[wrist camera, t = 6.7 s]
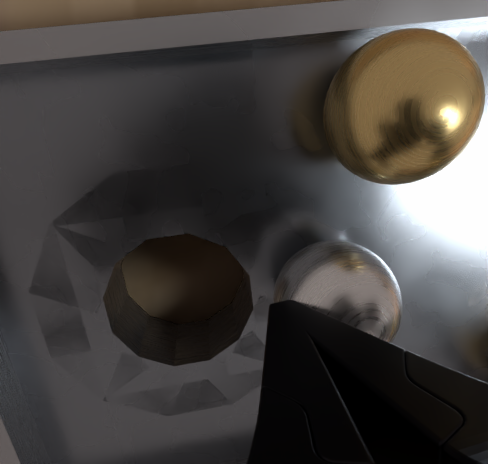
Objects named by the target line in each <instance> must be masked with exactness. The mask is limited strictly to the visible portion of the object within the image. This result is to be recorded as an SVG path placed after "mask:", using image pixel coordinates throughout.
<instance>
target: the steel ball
mask: <svg viewBox="0 0 488 464" xmlns="http://www.w3.org/2000/svg"><path fill="white" fill-rule="evenodd" d="M285 300H294V301H296V302H299V303H301V304H303V305H305V306H308V307H310V308H312V309H314V310H317V311H319V312H321V313H324V314H326V315H328V316H330V317H333V318H335V319H337V320H339V321H342V322H344V323H346V324H348V325H351V326H353V327H355V328H357V329H360V330H362V331H364V332H366V333H369V334H371V335H373V336H376V337H378V338H380V339H382V340H385V341H387V342H389V343H392V342H393V340H394V338H395V337H396V335H397V332H398V330H399V327H400V324H401V319H402V313H403V305H402V296H401V291H400V288H399V285H398V282H397V280H396V278H395V276H394V275H393V273H392V271H391V270H390V268H389V267H388V266H387V265H386V264H385V262H384V261H383V260H382V259H380V258H379V257H378V256H377V255H376V254H374V253H373V252H371V251H370V250H368V249H366V248H364V247H362V246H360V245H358V244H355V243H351V242H346V241H339V240H330V241H322V242H318V243H314V244H312V245H309V246H307V247H305V248H303V249H302V250H300V251H299V252H297V253H296V254H294V255H293V256H292V257H291V258H290V259H289V260H288V261H287V263H286V264H285V265H284V267H283V268H282V270H281V272H280V274H279V276H278V278H277V280H276V283H275V287H274V293H273V303H276V302H281V301H285Z"/></svg>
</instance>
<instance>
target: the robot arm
mask: <svg viewBox="0 0 488 464" xmlns="http://www.w3.org/2000/svg"><path fill="white" fill-rule="evenodd" d="M246 464H488V383H487V382H484V381H481V380H479V379H476V378H473V377H471V376H468V375H465V374H463V373H460V372H458V371H455V370H452V369H450V368H447V367H445V366H442V365H440V364H438V363H435V362H433V361H430V360H428V359H426V358H423V357H421V356H419V355H417V354H414V353H412V352H410V351H405V350H404V349H403V348H400V347H398V346H396V345H394V344H391V343H389V342H387V341H385V340H382V339H380V338H378V337H376V336H373V335H371V334H369V333H366V332H364V331H362V330H360V329H357V328H355V327H353V326H351V325H348V324H346V323H344V322H342V321H339V320H337V319H335V318H333V317H330V316H328V315H326V314H324V313H321V312H319V311H317V310H314V309H312V308H310V307H308V306H305V305H303V304H301V303H299V302H296V301H294V300H285V301H281V302H276V303H272V304H270V305H269V311H268V322H267V332H266V342H265V352H264V363H263V373H262V383H261V391H260V401H259V408H258V415H257V422H256V427H255V431H254V435H253V440H252V444H251V448H250V452H249V455H248V459H247V463H246Z"/></svg>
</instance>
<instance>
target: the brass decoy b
mask: <svg viewBox="0 0 488 464" xmlns="http://www.w3.org/2000/svg"><path fill="white" fill-rule="evenodd" d="M484 105H485V85H484V80H483V76H482V73H481V70H480V68H479V66H478V64H477V62H476V60H475V59H474V57H473V56H472V55H471V53H470V52H469V51H468V50H467V49H466V47H465V46H464V45H462V44H461V43H460V42H458V41H457V40H455V39H454V38H452V37H450V36H448V35H446V34H444V33H441V32H438V31H435V30H431V29H424V28H406V29H400V30H395V31H392V32H389V33H386V34H383V35H380V36H378V37H376V38H374V39H372V40H370V41H368V42H367V43H365V44H364V45H362V46H361V47H360V48H358V49H357V50H356V51H355V52H354V53H352V54H351V55H350V56H349V57H348V58H347V60H346V61H345V62H344V63H343V64H342V65H341V67H340V68H339V70H338V71H337V72H336V74H335V76H334V78H333V79H332V81H331V83H330V86H329V88H328V91H327V94H326V98H325V102H324V108H323V126H324V132H325V136H326V140H327V142H328V145H329V147H330V149H331V151H332V153H333V154H334V156H335V157H336V159H337V160H338V161H339V162H340V163H341V164H342V165H343V166H344V167H345V168H346V169H347V170H348V171H350V172H351V173H353V174H354V175H356V176H358V177H360V178H362V179H364V180H367V181H370V182H374V183H379V184H385V185H399V184H408V183H412V182H416V181H419V180H422V179H425V178H428V177H430V176H432V175H434V174H436V173H438V172H439V171H441V170H442V169H444V168H446V167H447V166H448V165H450V164H451V163H452V162H453V161H454V160H455V159H456V158H457V157H458V156H459V155H460V154H461V153H462V152H463V151H464V150H465V149H466V147H467V146H468V145H469V144H470V142H471V140H472V139H473V137H474V135H475V134H476V132H477V130H478V127H479V125H480V122H481V119H482V115H483V111H484Z"/></svg>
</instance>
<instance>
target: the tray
mask: <svg viewBox="0 0 488 464" xmlns="http://www.w3.org/2000/svg"><path fill="white" fill-rule="evenodd" d="M406 28H424V29H431V30H435V31H438V32H441V33H444V34H446V35H448V36H450V37H452V38H454V39H455V40H457V41H458V42H460V43H461V44H462V45H464V46H465V47H466V49H467V50H468V51H469V52H470V53H471V55H472V56H473V57H474V59H475V60H476V62H477V64H478V66H479V68H480V70H481V73H482V76H483V80H484V85H485V105H484V111H483V115H482V119H481V122H480V125H479V127H478V130H477V132H476V134H475V135H474V137H473V139H472V140H471V142H470V144H469V145H468V146H467V147H466V149H465V150H464V151H463V152H462V153H461V154H460V155H459V156H458V157H457V158H456V159H455V160H454V161H453V162H452V163H451V164H450V165H448V166H447V167H446V168H444V169H442V170H441V171H439V172H438V173H436V174H434V175H432V176H430V177H428V178H425V179H422V180H419V181H416V182H412V183H408V184H399V185H385V184H379V183H374V182H370V181H367V180H364V179H362V178H360V177H358V176H356V175H354V174H353V173H351V172H350V171H348V170H347V169H346V168H345V167H344V166H343V165H342V164H341V163H340V162H339V161H338V160H337V159H336V157H335V156H334V154H333V153H332V151H331V149H330V147H329V145H328V142H327V140H326V136H325V132H324V126H323V108H324V102H325V98H326V94H327V91H328V88H329V86H330V83H331V81H332V79H333V78H334V76H335V74H336V72H337V71H338V70H339V68H340V67H341V65H342V64H343V63H344V62H345V61H346V60H347V58H348V57H349V56H350V55H351V54H352V53H354V52H355V51H356V50H357V49H358V48H360V47H361V46H362V45H364V44H365V43H367V42H368V41H370V40H372V39H374V38H376V37H378V36H380V35H383V34H386V33H389V32H392V31H395V30H400V29H406ZM187 233H189V234H192V235H194V236H197V237H200V238H203V239H205V240H208V241H211V242H213V243H216V244H219V245H222V246H224V247H227V249H228V250H229V251H230V252H231V254H232V255H233V256H234V257H235V258H236V260H237V261H238V262H239V263H240V264H241V266H242V267H243V273H244V278H243V280H242V282H241V284H240V286H239V288H238V291H237V293H236V295H235V297H234V299H233V301H232V303H231V304H229V305H228V306H226V307H225V308H224V309H222V310H221V311H220V312H218V313H217V314H215V315H214V316H213V317H211V318H210V319H209V320H204V321H197V322H191V323H185V324H179V325H178V324H174V323H171V322H168V321H164V320H161V319H158V318H154V317H151V316H149V315H148V314H147V313H146V312H145V311H144V310H143V309H142V308H141V307H140V306H139V305H138V304H137V303H136V302H135V301H134V300H133V299H132V298H131V297H130V296H129V295H128V294H127V290H126V286H125V281H124V277H123V273H122V269H121V264H122V261H123V258H124V257H125V256H126V255H127V254H129V253H130V252H131V251H132V250H134V249H135V248H136V247H138V246H139V245H140V244H142V243H143V242H144V241H145V240H147V239H153V238H160V237H167V236H174V235H181V234H187ZM330 240H339V241H346V242H351V243H355V244H358V245H360V246H362V247H364V248H366V249H368V250H370V251H371V252H373V253H374V254H376V255H377V256H378V257H379V258H380V259H382V260H383V261H384V262H385V264H386V265H387V266H388V267H389V268H390V270H391V271H392V273H393V275H394V276H395V278H396V280H397V282H398V285H399V288H400V291H401V296H402V305H403V313H402V319H401V324H400V327H399V330H398V332H397V335H396V337H395V338H394V340H393V342H392V343H391V344H394V345H396V346H398V347H400V348H403V349H404V350H405V351H410V352H412V353H414V354H417V355H419V356H421V357H423V358H426V359H428V360H430V361H433V362H435V363H438V364H440V365H442V366H445V367H447V368H450V369H452V370H455V371H458V372H460V373H463V374H465V375H468V376H471V377H473V378H476V379H479V380H481V381H484V382H487V383H488V0H342V1H331V2H320V3H309V4H298V5H287V6H276V7H265V8H254V9H243V10H232V11H221V12H209V13H198V14H187V15H176V16H165V17H154V18H143V19H132V20H121V21H110V22H99V23H88V24H77V25H66V26H55V27H44V28H33V29H22V30H11V31H0V464H246V463H247V459H248V455H249V452H250V448H251V444H252V440H253V435H254V431H255V427H256V422H257V415H258V408H259V401H260V391H261V383H262V373H263V363H264V352H265V342H266V332H267V322H268V311H269V305H270V304H272V303H273V293H274V287H275V283H276V280H277V278H278V276H279V274H280V272H281V270H282V268H283V267H284V265H285V264H286V263H287V261H288V260H289V259H290V258H291V257H292V256H293V255H294V254H296V253H297V252H299V251H300V250H302V249H303V248H305V247H307V246H309V245H312V244H314V243H318V242H322V241H330Z"/></svg>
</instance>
